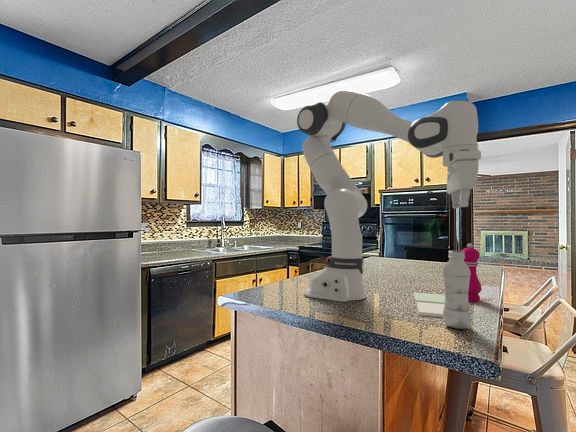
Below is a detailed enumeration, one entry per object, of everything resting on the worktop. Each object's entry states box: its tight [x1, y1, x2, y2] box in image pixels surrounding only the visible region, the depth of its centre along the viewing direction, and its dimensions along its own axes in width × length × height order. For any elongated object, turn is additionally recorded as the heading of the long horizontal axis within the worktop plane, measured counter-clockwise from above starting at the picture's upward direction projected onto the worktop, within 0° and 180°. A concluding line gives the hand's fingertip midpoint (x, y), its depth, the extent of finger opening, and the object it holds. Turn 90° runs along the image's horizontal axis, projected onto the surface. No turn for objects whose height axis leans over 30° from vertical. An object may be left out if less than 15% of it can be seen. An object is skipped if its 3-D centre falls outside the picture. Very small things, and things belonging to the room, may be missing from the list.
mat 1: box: [413, 292, 445, 304], centre depth 109 cm, size 13×12×1 cm
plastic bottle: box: [442, 250, 472, 330], centre depth 82 cm, size 6×7×20 cm
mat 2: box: [415, 302, 444, 319], centre depth 96 cm, size 13×12×1 cm
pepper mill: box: [461, 243, 483, 303], centre depth 111 cm, size 7×7×20 cm
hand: (460, 207), depth 88 cm, fingers open, 8 cm apart
